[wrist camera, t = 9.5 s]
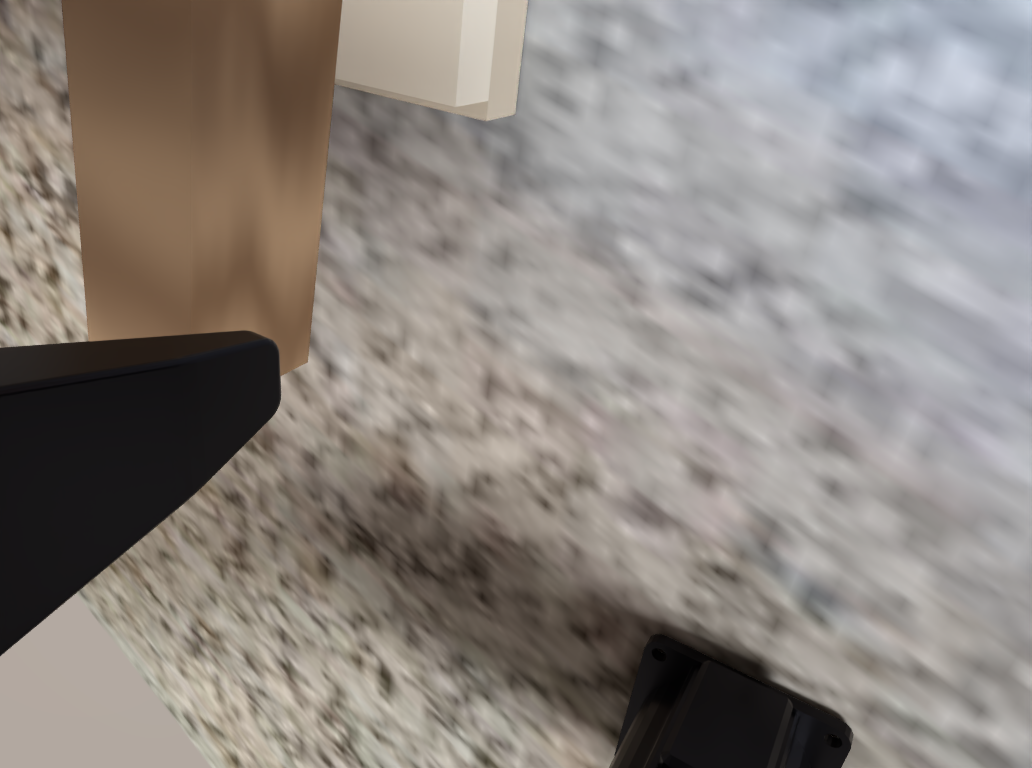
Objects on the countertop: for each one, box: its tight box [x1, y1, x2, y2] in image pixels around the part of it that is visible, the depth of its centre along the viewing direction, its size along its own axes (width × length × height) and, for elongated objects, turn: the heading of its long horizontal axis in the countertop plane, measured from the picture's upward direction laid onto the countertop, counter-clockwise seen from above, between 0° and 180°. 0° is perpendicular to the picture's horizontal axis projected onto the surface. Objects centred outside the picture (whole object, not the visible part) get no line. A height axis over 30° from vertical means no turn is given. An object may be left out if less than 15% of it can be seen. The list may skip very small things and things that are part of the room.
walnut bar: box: [62, 0, 342, 376], centre depth 18 cm, size 20×4×4 cm, turn 166°
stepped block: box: [334, 0, 528, 121], centre depth 21 cm, size 4×11×3 cm, turn 83°
